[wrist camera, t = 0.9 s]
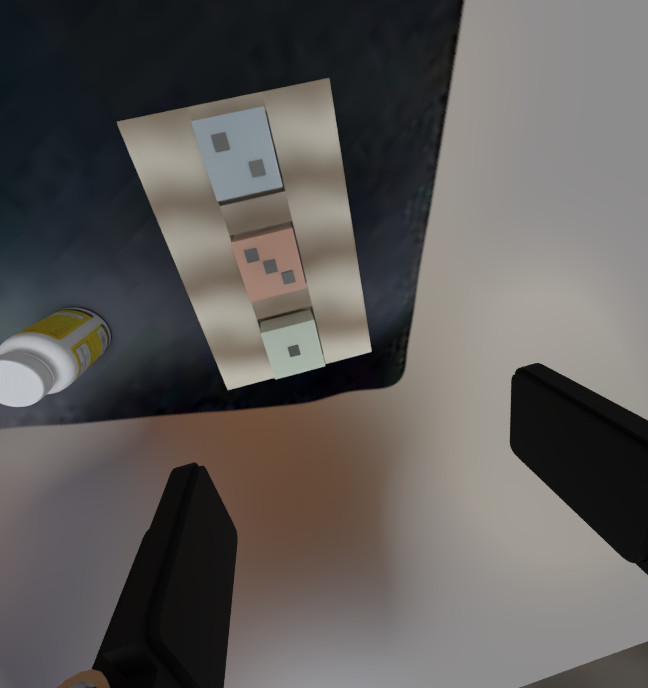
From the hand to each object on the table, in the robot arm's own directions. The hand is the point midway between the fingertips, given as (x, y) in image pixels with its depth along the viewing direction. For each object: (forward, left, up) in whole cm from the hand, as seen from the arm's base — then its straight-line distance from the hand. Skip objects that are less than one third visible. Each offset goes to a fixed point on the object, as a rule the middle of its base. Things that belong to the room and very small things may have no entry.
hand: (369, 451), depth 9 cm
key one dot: (+6, -2, -23) cm, 23 cm away
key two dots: (-10, -2, -23) cm, 25 cm away
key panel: (-2, -2, -26) cm, 26 cm away
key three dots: (-2, -2, -23) cm, 23 cm away
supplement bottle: (+1, -22, -26) cm, 34 cm away
